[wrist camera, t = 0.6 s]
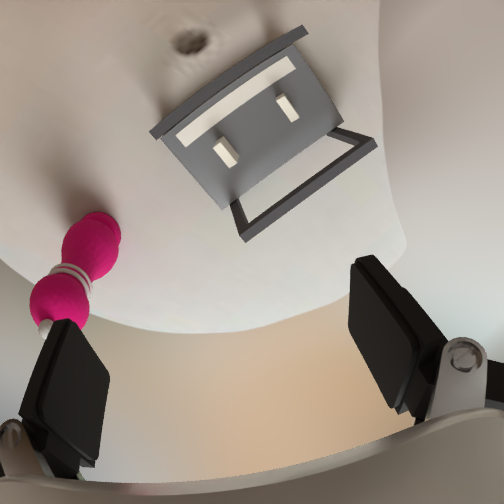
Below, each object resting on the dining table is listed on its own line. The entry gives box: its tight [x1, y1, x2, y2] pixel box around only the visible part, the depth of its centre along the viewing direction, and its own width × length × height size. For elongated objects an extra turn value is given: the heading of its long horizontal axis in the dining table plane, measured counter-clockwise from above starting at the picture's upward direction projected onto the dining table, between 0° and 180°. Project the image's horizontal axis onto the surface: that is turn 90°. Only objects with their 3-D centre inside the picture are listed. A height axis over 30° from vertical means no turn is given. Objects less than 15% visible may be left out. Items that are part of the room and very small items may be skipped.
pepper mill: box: [30, 212, 121, 339], centre depth 29 cm, size 7×7×20 cm
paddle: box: [213, 136, 239, 168], centre depth 32 cm, size 1×3×2 cm, turn 35°
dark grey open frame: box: [149, 25, 378, 243], centre depth 30 cm, size 16×14×11 cm
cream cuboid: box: [276, 93, 300, 123], centre depth 30 cm, size 1×3×2 cm, turn 35°
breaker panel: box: [160, 44, 344, 210], centre depth 34 cm, size 18×11×3 cm, turn 127°
